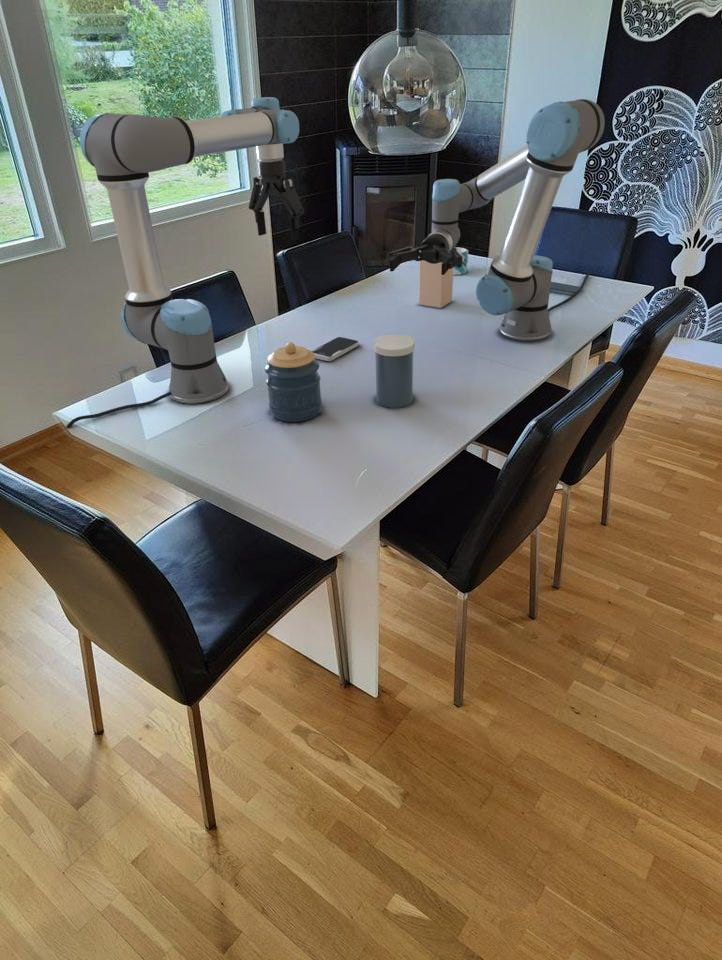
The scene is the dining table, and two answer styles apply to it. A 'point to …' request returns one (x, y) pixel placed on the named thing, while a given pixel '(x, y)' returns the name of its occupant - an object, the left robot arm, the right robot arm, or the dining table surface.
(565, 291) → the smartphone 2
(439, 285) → the soap dispenser
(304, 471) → the dining table surface
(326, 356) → the smartphone
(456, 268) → the mug
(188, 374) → the left robot arm
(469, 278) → the dining table surface
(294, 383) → the canister
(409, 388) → the jar
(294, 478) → the dining table surface
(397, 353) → the lid
